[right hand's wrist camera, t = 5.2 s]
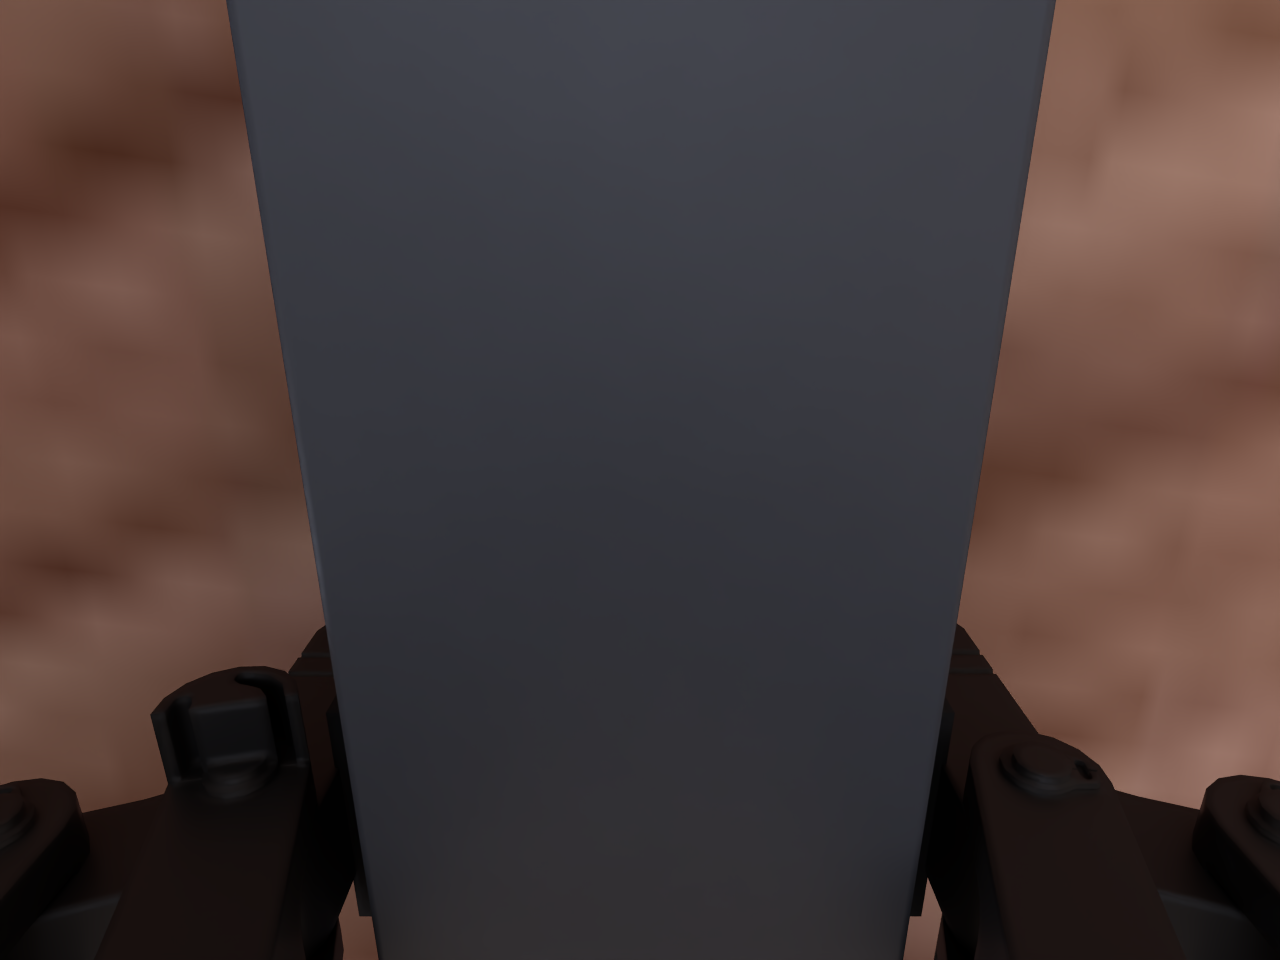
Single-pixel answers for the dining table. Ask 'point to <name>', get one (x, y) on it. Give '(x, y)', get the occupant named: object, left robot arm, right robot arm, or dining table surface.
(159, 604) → the dining table surface
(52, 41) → the dining table surface
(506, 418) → the beam
